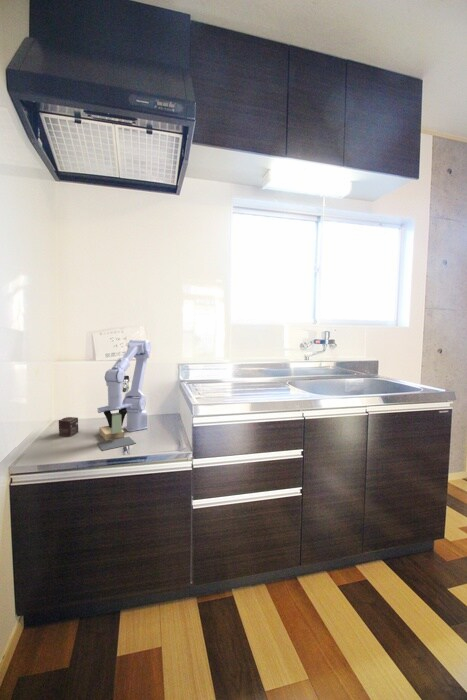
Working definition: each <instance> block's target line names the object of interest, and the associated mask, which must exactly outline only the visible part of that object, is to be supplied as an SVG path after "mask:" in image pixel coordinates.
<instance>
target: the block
mask: <svg viewBox="0 0 467 700" xmlns="http://www.w3.org/2000/svg"><path fill="white" fill-rule="evenodd" d="M111 414H112V420H111V421H112V428H110V432H111V433H112V434H115V433H120V432H122V430H123V428H122V426H123V425H122V419H121V414H120V413H119V411H118V412H111Z"/></svg>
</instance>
